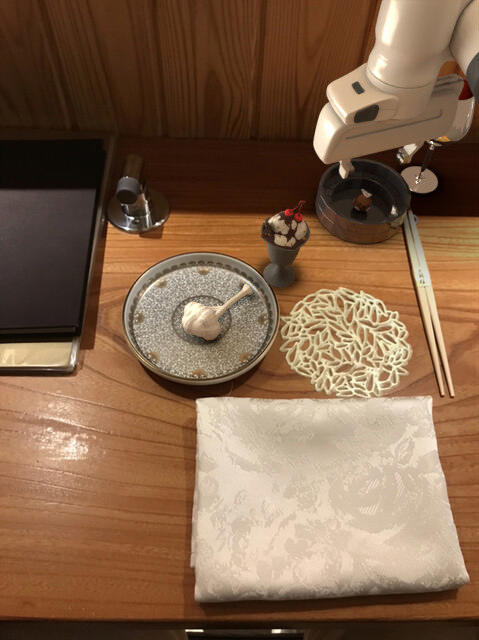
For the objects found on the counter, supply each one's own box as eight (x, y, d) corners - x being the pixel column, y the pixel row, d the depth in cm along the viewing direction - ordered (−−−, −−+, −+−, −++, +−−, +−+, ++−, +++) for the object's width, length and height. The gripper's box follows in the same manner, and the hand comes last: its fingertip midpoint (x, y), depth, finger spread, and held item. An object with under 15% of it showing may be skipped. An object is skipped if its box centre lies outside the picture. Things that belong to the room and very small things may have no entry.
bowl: (377, 173, 97) (385, 151, 93) (417, 234, 90) (427, 212, 86) (301, 191, 94) (305, 168, 90) (336, 255, 87) (342, 233, 83)
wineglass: (443, 201, 94) (486, 109, 79) (394, 194, 94) (428, 102, 79) (441, 167, 98) (482, 74, 83) (394, 161, 99) (427, 67, 83)
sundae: (308, 269, 85) (324, 198, 73) (288, 300, 82) (300, 232, 70) (270, 251, 87) (279, 179, 74) (249, 281, 84) (254, 211, 71)
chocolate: (347, 208, 92) (352, 190, 88) (355, 201, 92) (361, 183, 89) (362, 218, 90) (367, 200, 87) (370, 211, 91) (376, 193, 88)
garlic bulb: (264, 286, 79) (200, 329, 73) (264, 311, 82) (203, 355, 76) (230, 266, 82) (166, 305, 76) (231, 291, 86) (170, 330, 80)
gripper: (455, 57, 76) (425, 139, 88) (315, 87, 72) (304, 168, 84) (480, 85, 73) (446, 166, 84) (335, 118, 69) (320, 198, 81)
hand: (374, 167), depth 84 cm, fingers open, 8 cm apart
